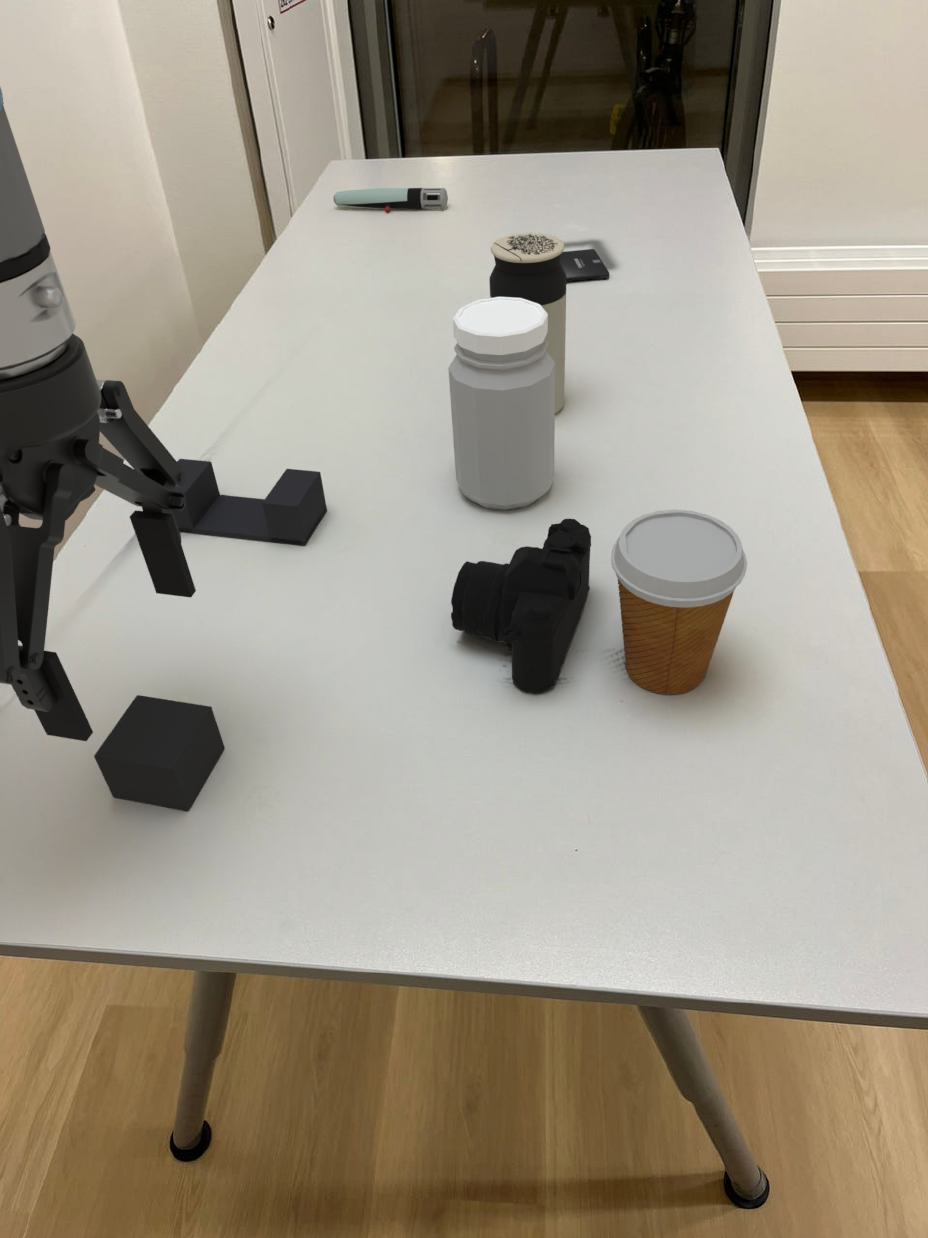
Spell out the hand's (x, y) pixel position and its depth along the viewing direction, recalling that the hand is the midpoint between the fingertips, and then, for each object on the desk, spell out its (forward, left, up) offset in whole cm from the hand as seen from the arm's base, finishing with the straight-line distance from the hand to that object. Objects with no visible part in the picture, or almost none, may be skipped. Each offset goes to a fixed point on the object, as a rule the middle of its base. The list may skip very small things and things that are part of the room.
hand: (127, 657), depth 62 cm
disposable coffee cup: (+34, +18, -12) cm, 40 cm away
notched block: (-8, +31, -12) cm, 34 cm away
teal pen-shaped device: (-22, +122, -12) cm, 125 cm away
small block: (0, 0, -12) cm, 12 cm away
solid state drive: (+14, +99, -12) cm, 101 cm away
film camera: (+22, +20, -12) cm, 32 cm away
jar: (+16, +41, -12) cm, 45 cm away
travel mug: (+15, +58, -12) cm, 61 cm away
